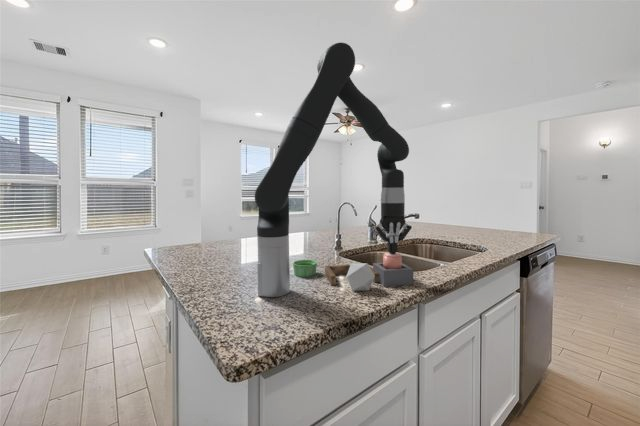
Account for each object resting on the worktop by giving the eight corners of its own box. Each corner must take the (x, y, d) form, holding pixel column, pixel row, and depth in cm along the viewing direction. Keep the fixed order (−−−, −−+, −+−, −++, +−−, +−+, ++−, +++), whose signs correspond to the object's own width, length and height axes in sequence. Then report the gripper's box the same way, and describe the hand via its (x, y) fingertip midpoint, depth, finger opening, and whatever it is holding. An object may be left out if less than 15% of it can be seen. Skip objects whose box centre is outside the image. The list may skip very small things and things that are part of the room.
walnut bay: (331, 285, 89) (331, 276, 89) (324, 273, 103) (324, 265, 103) (379, 282, 92) (379, 273, 92) (366, 271, 105) (366, 263, 105)
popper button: (387, 273, 90) (387, 256, 90) (380, 268, 96) (380, 252, 96) (404, 272, 91) (404, 255, 91) (396, 267, 97) (397, 251, 96)
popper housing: (383, 286, 88) (383, 270, 88) (372, 277, 98) (372, 263, 97) (413, 284, 89) (413, 269, 89) (399, 275, 99) (399, 261, 99)
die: (367, 298, 80) (382, 269, 82) (341, 282, 81) (356, 254, 83) (362, 298, 88) (376, 271, 90) (339, 284, 89) (353, 258, 91)
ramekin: (299, 279, 97) (299, 266, 97) (289, 273, 105) (288, 261, 105) (321, 275, 102) (321, 263, 101) (310, 269, 109) (309, 258, 109)
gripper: (377, 202, 87) (377, 257, 88) (417, 201, 89) (416, 255, 90) (369, 201, 95) (369, 252, 96) (406, 201, 97) (406, 250, 98)
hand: (392, 253), depth 93 cm, fingers closed
